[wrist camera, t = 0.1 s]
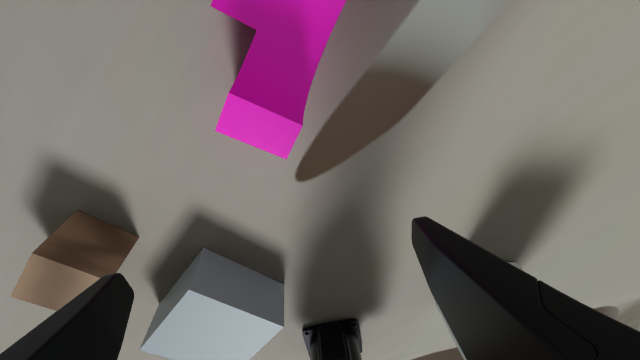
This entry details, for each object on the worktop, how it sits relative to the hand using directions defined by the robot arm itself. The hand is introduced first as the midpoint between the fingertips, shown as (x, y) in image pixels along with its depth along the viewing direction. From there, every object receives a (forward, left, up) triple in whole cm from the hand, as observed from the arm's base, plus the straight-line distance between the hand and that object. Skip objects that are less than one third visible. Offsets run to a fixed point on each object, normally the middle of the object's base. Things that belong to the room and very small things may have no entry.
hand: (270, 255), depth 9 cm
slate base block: (-17, +10, -15) cm, 25 cm away
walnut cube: (-8, +18, -15) cm, 25 cm away
